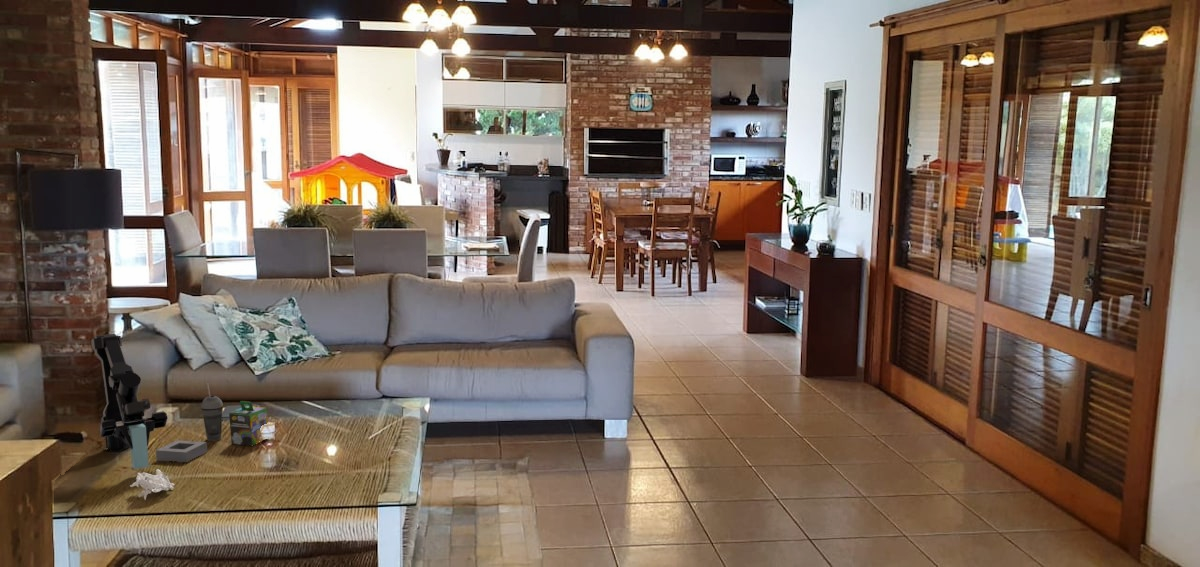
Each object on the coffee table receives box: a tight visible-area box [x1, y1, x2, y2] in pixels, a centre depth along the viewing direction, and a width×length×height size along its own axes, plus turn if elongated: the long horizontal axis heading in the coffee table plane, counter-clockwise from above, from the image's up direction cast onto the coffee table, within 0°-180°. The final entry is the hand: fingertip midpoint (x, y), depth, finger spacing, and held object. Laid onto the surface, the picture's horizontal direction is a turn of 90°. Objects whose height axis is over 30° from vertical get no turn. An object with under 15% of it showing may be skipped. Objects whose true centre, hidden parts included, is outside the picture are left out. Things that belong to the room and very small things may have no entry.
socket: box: [155, 439, 208, 463], centre depth 312 cm, size 11×11×4 cm
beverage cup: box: [200, 383, 224, 442], centre depth 329 cm, size 7×7×20 cm
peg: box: [128, 424, 149, 470], centre depth 293 cm, size 4×4×13 cm
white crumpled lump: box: [129, 469, 175, 501], centre depth 278 cm, size 12×7×12 cm
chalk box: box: [229, 400, 269, 447], centre depth 327 cm, size 9×9×15 cm
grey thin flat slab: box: [222, 403, 261, 420], centre depth 364 cm, size 20×2×15 cm
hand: (139, 447), depth 292 cm, fingers closed on peg, 4 cm apart
